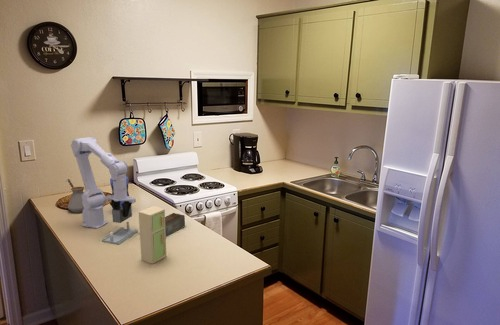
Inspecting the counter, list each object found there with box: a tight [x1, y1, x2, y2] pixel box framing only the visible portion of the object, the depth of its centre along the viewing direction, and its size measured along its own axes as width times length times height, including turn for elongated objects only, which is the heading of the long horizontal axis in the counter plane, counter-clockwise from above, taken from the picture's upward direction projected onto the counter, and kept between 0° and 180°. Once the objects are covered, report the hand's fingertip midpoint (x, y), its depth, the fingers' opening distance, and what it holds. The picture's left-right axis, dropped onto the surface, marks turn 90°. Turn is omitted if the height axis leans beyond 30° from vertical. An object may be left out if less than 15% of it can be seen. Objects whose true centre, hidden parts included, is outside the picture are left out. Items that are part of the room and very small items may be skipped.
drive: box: [111, 205, 133, 224], centre depth 164 cm, size 4×9×6 cm, turn 164°
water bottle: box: [109, 176, 130, 205], centre depth 191 cm, size 9×9×25 cm
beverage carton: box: [165, 212, 186, 237], centre depth 169 cm, size 8×19×7 cm, turn 151°
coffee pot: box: [65, 178, 85, 214], centre depth 196 cm, size 21×12×15 cm, turn 44°
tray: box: [101, 221, 139, 245], centre depth 162 cm, size 9×14×5 cm, turn 163°
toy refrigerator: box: [138, 205, 167, 265], centre depth 141 cm, size 8×7×21 cm
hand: (122, 215), depth 164 cm, fingers closed on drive, 4 cm apart
